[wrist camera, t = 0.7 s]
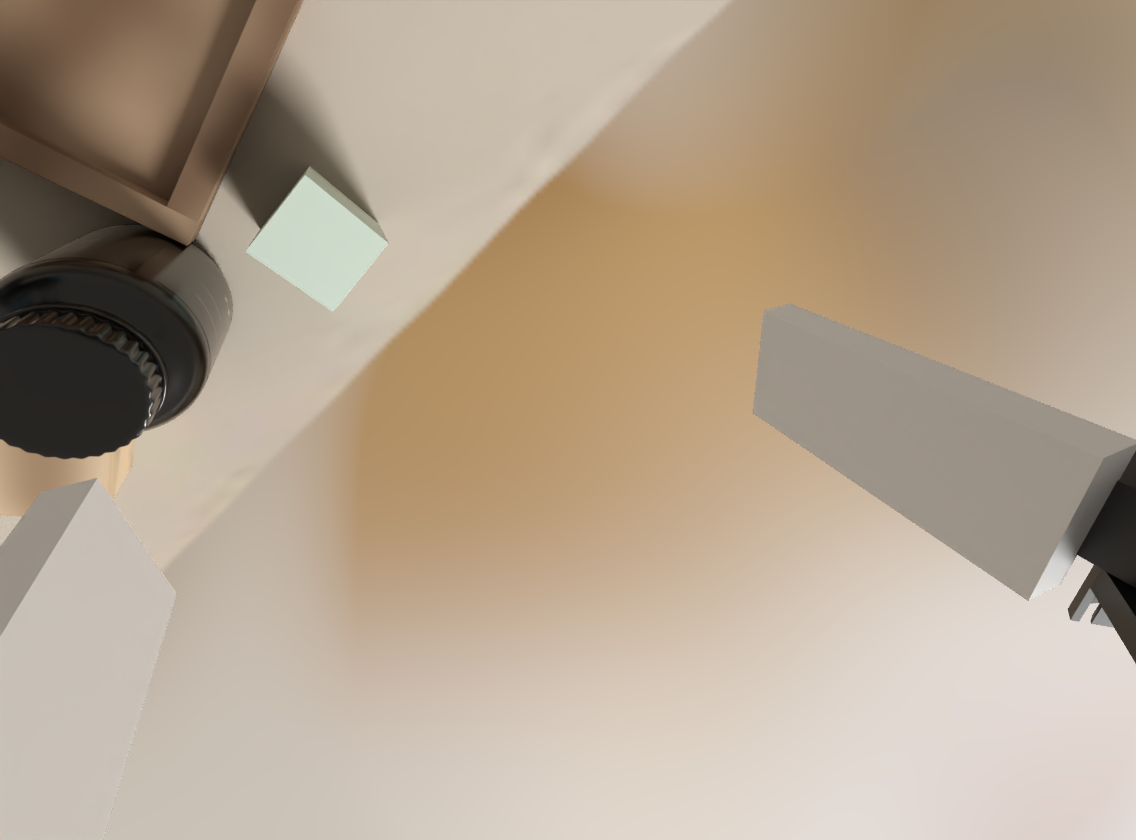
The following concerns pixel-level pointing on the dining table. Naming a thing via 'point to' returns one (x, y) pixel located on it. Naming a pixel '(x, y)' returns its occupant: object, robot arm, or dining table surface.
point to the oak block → (55, 474)
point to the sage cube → (319, 240)
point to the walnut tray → (136, 97)
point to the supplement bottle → (106, 340)
